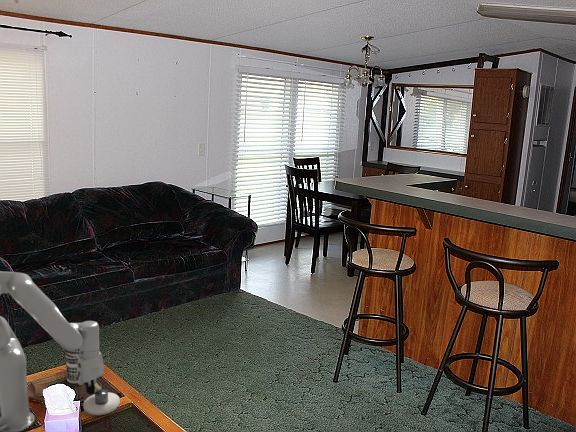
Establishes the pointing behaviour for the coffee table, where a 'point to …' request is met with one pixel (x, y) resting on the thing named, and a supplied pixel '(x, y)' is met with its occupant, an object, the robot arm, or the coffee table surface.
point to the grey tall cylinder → (72, 365)
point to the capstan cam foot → (100, 395)
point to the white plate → (103, 409)
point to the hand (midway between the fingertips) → (90, 393)
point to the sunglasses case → (36, 392)
